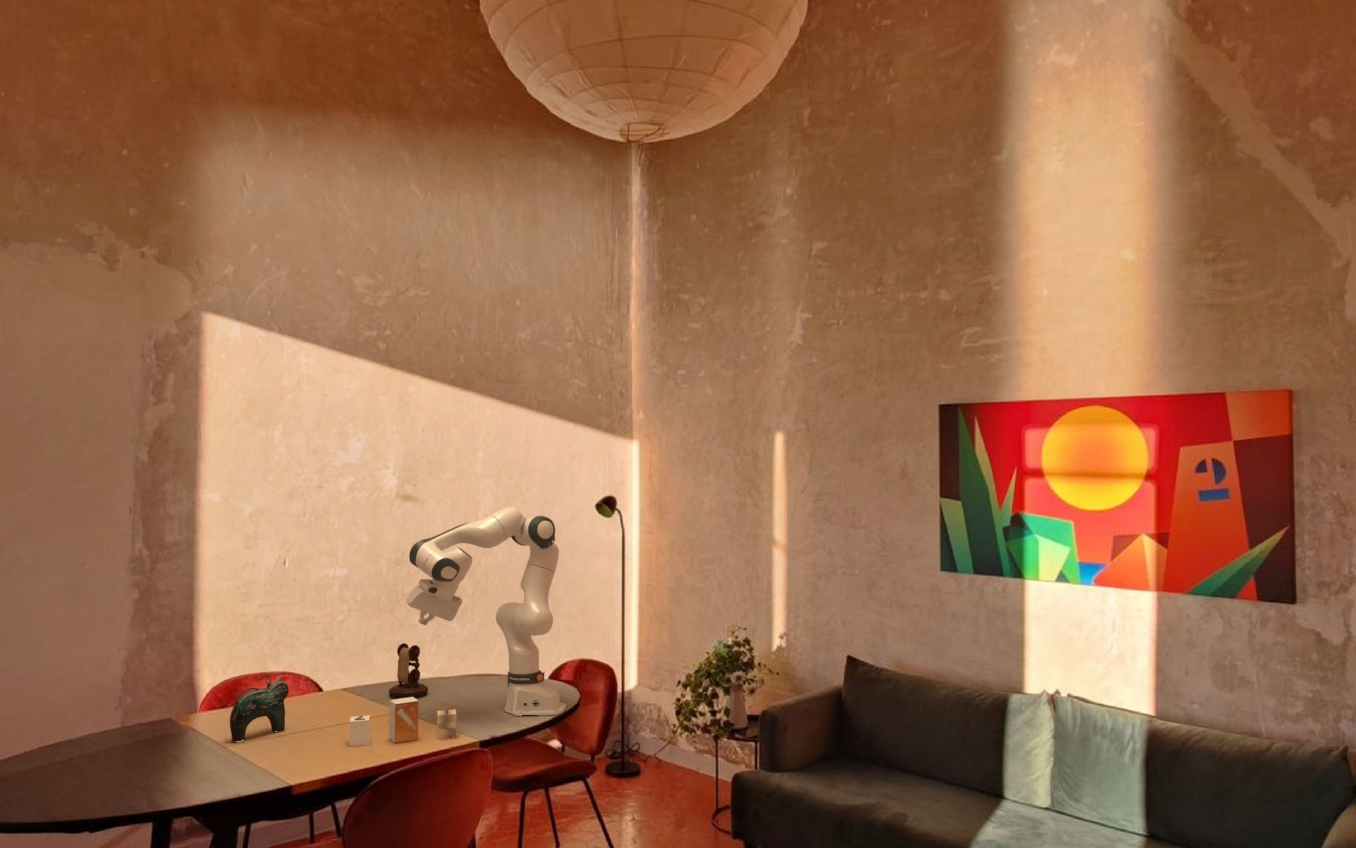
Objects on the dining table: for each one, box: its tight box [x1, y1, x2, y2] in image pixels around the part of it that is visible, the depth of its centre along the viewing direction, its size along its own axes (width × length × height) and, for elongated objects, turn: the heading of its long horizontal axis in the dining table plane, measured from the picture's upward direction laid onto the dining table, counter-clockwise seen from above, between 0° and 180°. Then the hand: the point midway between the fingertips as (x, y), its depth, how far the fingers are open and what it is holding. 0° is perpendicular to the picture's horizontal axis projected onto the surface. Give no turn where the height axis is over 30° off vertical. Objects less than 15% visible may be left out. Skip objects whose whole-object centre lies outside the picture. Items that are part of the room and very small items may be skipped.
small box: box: [388, 696, 420, 744], centre depth 321 cm, size 8×6×13 cm
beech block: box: [436, 708, 457, 740], centre depth 325 cm, size 6×6×8 cm
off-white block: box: [349, 714, 371, 747], centre depth 318 cm, size 6×6×8 cm
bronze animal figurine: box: [229, 674, 289, 741], centre depth 326 cm, size 20×6×20 cm, turn 145°
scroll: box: [388, 642, 429, 698], centre depth 379 cm, size 15×15×20 cm
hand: (421, 623), depth 347 cm, fingers closed
